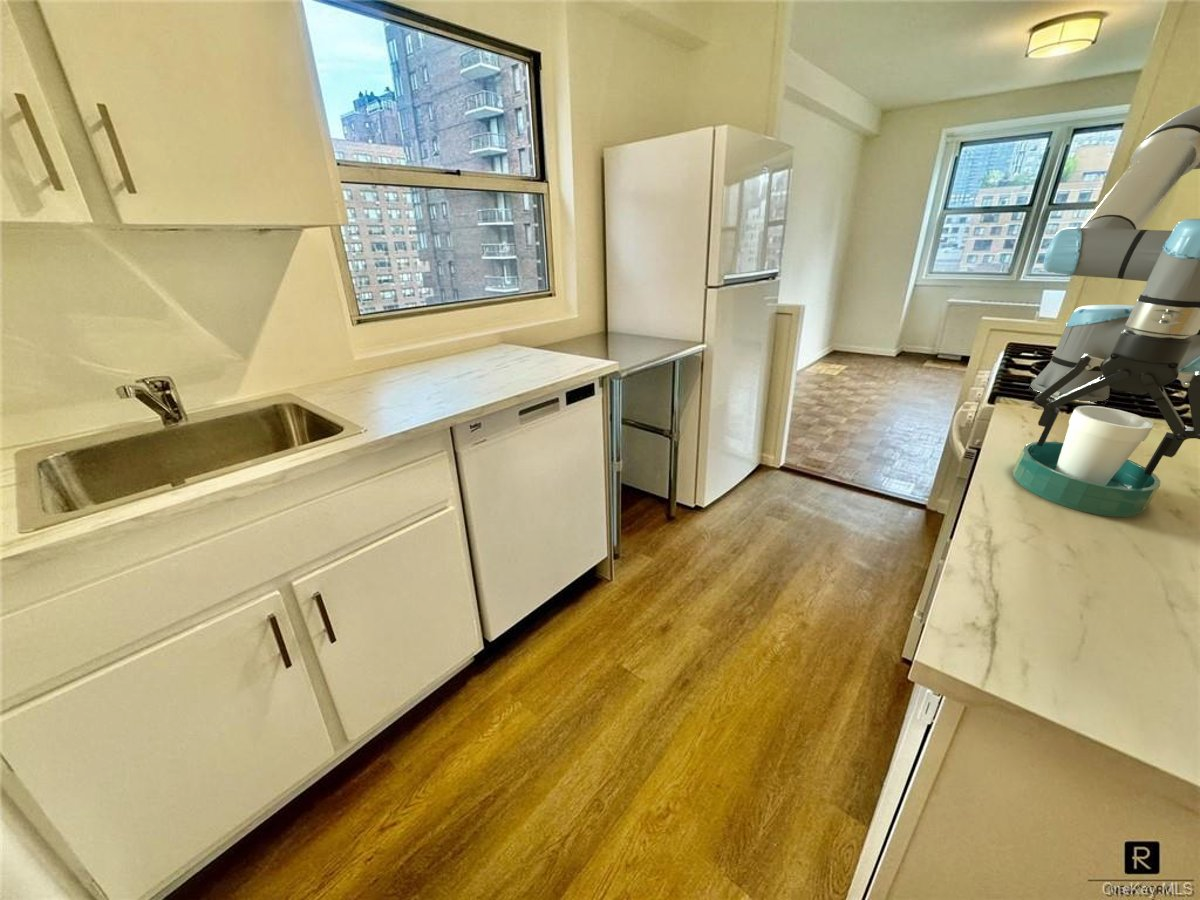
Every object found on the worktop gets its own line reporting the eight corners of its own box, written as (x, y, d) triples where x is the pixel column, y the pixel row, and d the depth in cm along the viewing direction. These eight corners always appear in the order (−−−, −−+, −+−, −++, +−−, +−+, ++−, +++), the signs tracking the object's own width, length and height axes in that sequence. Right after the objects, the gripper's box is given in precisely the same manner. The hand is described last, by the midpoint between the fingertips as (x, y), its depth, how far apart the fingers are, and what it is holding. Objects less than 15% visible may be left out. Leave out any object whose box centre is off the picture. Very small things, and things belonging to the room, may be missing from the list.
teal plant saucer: (1023, 456, 96) (1034, 433, 93) (1147, 490, 84) (1162, 465, 82) (1002, 486, 85) (1013, 461, 83) (1140, 530, 74) (1157, 503, 72)
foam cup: (1030, 477, 87) (1062, 410, 81) (1059, 467, 90) (1092, 402, 84) (1095, 504, 79) (1136, 432, 73) (1125, 492, 82) (1166, 423, 76)
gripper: (1046, 322, 78) (997, 439, 88) (1295, 355, 62) (1200, 494, 72) (1055, 315, 83) (1007, 427, 93) (1289, 344, 66) (1200, 477, 76)
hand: (1091, 457), depth 82 cm, fingers open, 13 cm apart
